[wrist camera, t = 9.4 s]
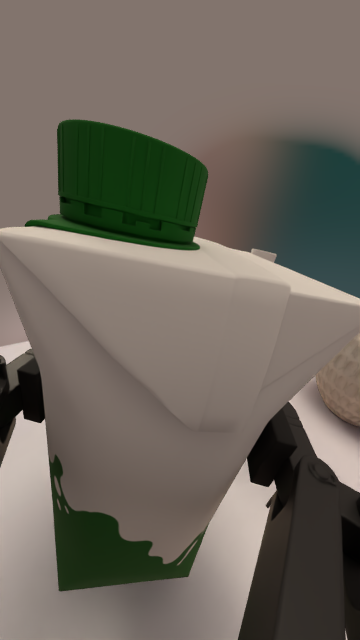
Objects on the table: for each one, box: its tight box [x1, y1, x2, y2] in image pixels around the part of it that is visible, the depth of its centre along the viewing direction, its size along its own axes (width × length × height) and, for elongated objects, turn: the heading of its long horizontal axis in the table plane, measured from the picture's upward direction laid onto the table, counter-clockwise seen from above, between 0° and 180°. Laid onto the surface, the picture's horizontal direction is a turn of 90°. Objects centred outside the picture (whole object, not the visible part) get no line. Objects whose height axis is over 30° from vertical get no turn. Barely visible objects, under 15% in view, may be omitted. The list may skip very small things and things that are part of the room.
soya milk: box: [0, 120, 360, 591], centre depth 11 cm, size 9×9×20 cm
